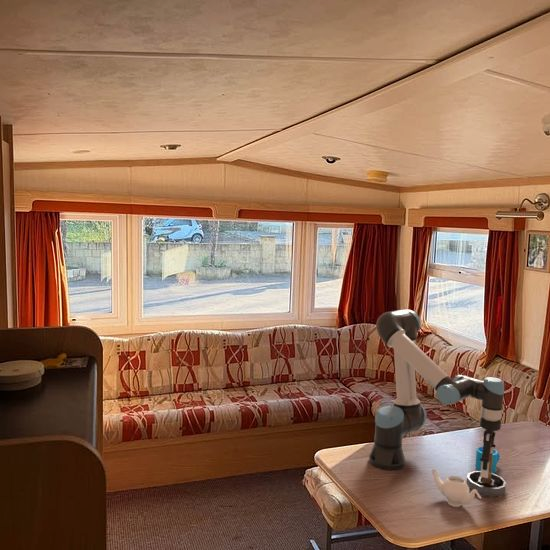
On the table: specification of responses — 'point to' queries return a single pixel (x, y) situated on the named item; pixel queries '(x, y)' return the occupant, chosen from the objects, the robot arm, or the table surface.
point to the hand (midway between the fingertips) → (486, 469)
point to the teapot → (455, 490)
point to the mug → (479, 455)
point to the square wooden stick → (488, 480)
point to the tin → (486, 484)
